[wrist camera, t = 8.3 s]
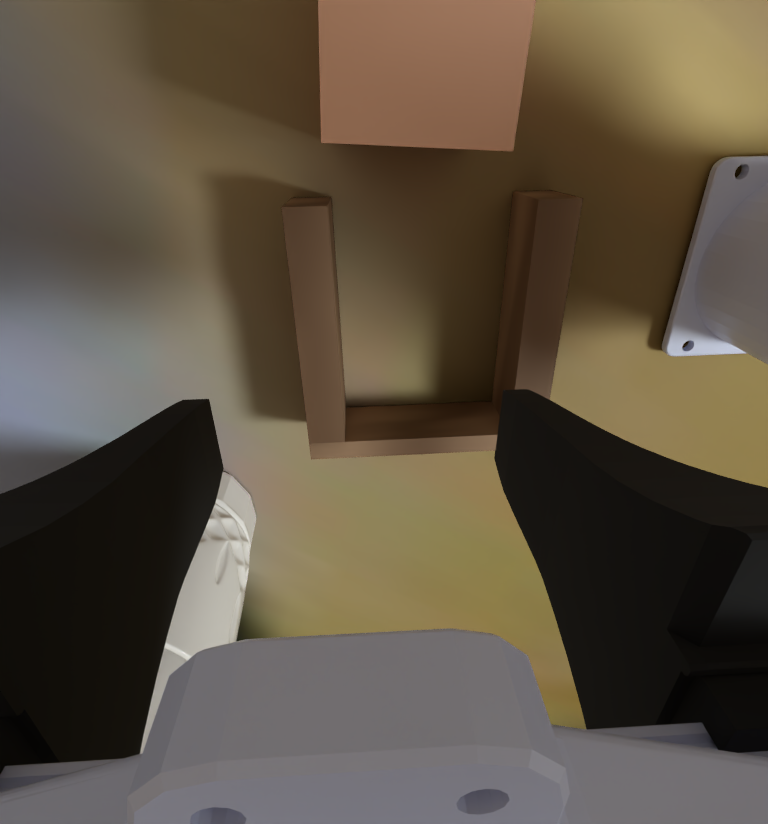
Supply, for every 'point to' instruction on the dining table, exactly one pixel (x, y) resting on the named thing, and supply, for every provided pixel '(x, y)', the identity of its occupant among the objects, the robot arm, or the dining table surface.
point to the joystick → (423, 72)
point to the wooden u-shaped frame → (516, 351)
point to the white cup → (210, 587)
